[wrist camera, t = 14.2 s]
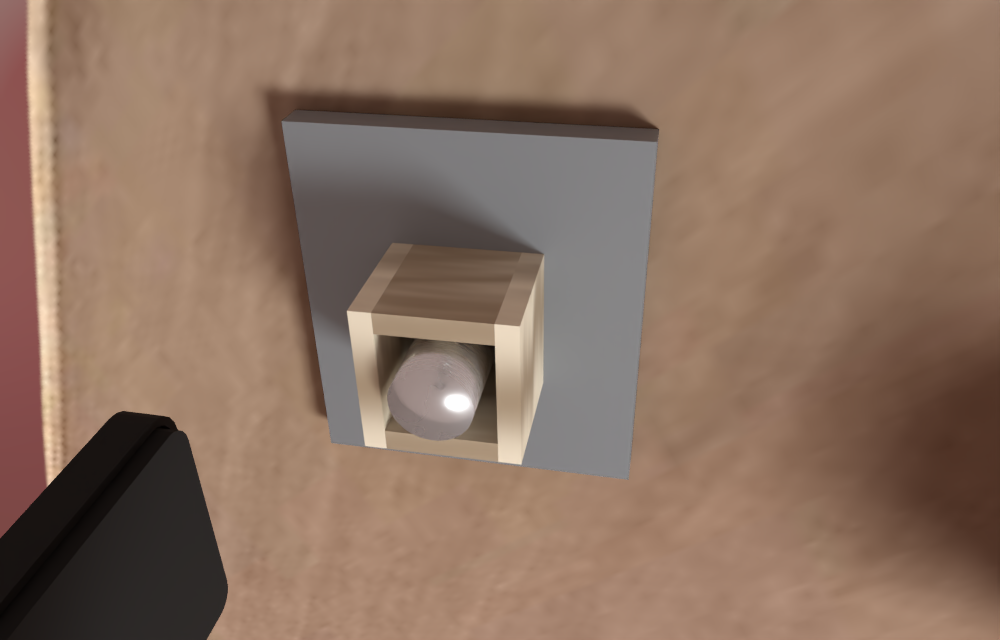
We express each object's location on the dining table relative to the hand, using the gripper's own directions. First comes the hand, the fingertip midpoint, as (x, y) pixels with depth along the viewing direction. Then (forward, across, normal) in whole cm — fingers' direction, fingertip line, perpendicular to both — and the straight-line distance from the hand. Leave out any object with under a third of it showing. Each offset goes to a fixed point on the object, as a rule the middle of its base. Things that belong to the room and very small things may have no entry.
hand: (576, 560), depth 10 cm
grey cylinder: (+26, +8, +14) cm, 31 cm away
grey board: (+28, +8, +14) cm, 32 cm away
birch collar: (+26, +8, +14) cm, 31 cm away
